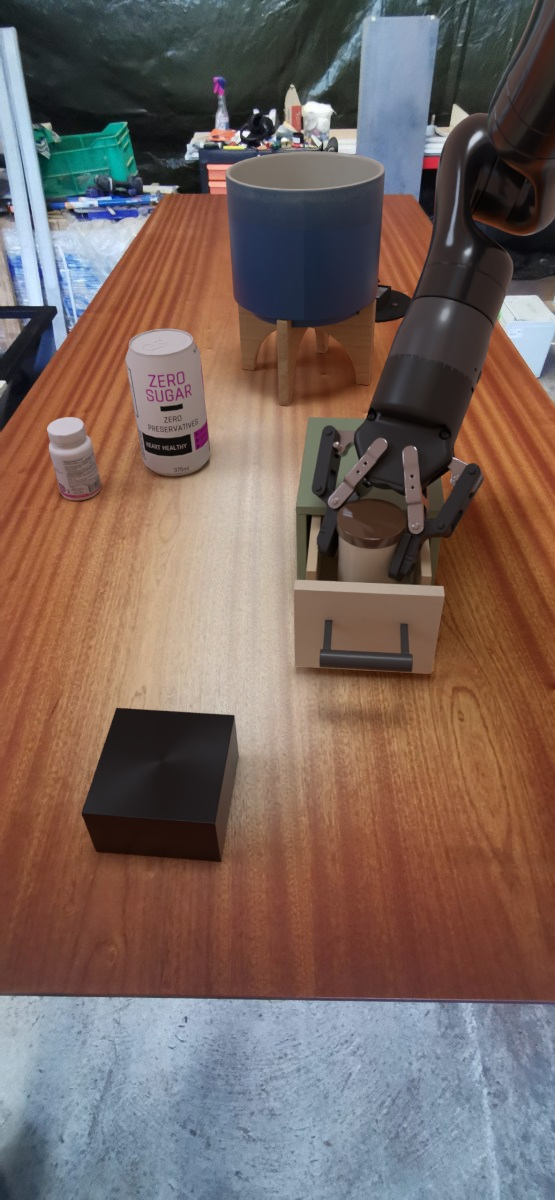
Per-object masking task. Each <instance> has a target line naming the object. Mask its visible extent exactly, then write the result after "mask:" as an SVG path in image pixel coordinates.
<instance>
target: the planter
mask: <svg viewBox="0 0 555 1200" xmlns="http://www.w3.org/2000/svg"><path fill="white" fill-rule="evenodd" d="M385 175H386V168H385V166H384V165H383V164H382V163H381V162H379V161H378V160H376V159H374V158H371V157H368V156H364V155H359V154H353V153H346V152H338V151H319V150H317V151H313V150H312V151H289V152H278V153H271V154H270V153H269V154H263V155H259V156H254V157H250V158H246V159H243V160H240V161H238V162H236V163H233V164H232V165H230V166H228V167H227V168H226V171H225V188H226V203H227V219H228V235H229V249H230V264H231V278H232V295H233V298H234V301H235V303H237V311H238V312H237V313H238V327H239V328H238V329H239V342H240V345H239V346H240V360H241V369H242V370H249V371H254V370H256V368H257V367H258V357H259V352H260V349H261V347H262V345H263V342H265V340H266V338H268V337H269V336H270V335H271V334H273V333H274V332H276V345H277V347H276V349H277V376H278V377H277V380H278V405H280V406H285V407H289V406H290V404H291V403H292V401H293V399H294V398H293V397H294V394H293V393H294V380H295V371H296V366H297V361H298V356H299V351H300V347H301V344H302V342H303V338H304V336H305V334H306V332H307V330H308V329H309V328H310V329H314V335H315V341H316V342H315V343H316V353H317V354H326V353H327V352H328V350H329V348H330V347H329V345H330V337H331V338H333V339H334V340H335V341H336V342H338V344H340V345H341V347H342V348H343V349H344V350H345V351H346V353H347V355H348V357H349V358H350V360H351V363H352V366H353V369H354V374H355V384H357V385H363V386H370V384H371V382H372V376H373V375H372V373H373V361H374V360H373V359H374V342H375V329H376V328H375V325H376V322H375V312H376V299H375V298H376V296H377V291H378V284H379V283H378V279H379V272H380V256H381V242H382V224H383V212H384V211H383V209H384V195H385V194H384V193H385V177H386V176H385Z"/></svg>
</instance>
